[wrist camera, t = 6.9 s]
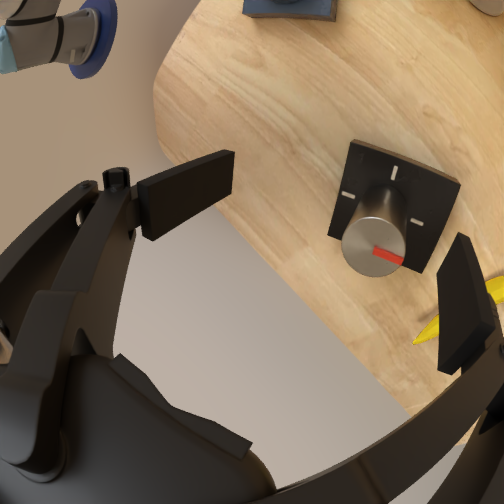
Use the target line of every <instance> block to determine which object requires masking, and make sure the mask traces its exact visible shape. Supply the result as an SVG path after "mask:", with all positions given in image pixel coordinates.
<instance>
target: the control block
mask: <svg viewBox="0 0 504 504" xmlns="http://www.w3.org/2000/svg"><path fill="white" fill-rule="evenodd" d="M336 9H337V0H244V4H243V12H242V14H244V15H246V16H249V17H251V18H300V19H313V20H323V21H331V22H335V18H336Z"/></svg>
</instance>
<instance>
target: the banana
mask: <svg viewBox="0 0 504 504" xmlns="http://www.w3.org/2000/svg"><path fill="white" fill-rule="evenodd" d="M485 284H486V288H487V291H488V293H490V294H491V296H492V298H493V299H494V301H495V303H496V305H497V304H499V303H501V302H504V276H499V277H496V278H493V279H491V280H488V281H486V282H485ZM438 335H439V314H438V315H437V316H435V317H434V318H433V319H432V321H431V322H430V323H429V324H428V325H427V326H426V327H425V328H424V329H423V331H422V332H421V333H420V334H419V335H418V336H417V338H416V339H415V340H414V341H413V343H412V344H413V345H415V344H418V343H422V342H425V341H427V340H430V339H432V338H434V337H436V336H438Z"/></svg>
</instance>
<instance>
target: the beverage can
mask: <svg viewBox="0 0 504 504" xmlns="http://www.w3.org/2000/svg"><path fill="white" fill-rule="evenodd" d="M470 1H471V2H472V3H473V5H475V6H476V7H477V8H478V9H480V10H481V11H482V12H484V13H486V14H489V15H493V16H498V15H500V14H502V13H503V12H504V0H470Z"/></svg>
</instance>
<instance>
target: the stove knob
mask: <svg viewBox="0 0 504 504" xmlns="http://www.w3.org/2000/svg"><path fill="white" fill-rule="evenodd" d="M406 220H407V207H406V202H405V200H404V198H403V196H402V195H401V193H400V192H399V191H398V190H396V189H395V188H393V187H391V186H388V185H375V186H372V187H371V188H369V189H368V190H367V191H366V192H365V193H364V194H363V196H362V198H361V200H360V202H359V204H358V206H357V208H356V210H355V212H354V214H353V216H352V218H351V220H350V222H349V224H348V226H347V228H346V230H345V232H344V234H343V237H342V243H341V246H342V252H343V255H344V258H345V260H346V261H347V263H348V264H349V265H350V266H351V267H352V268H353V269H354V270H355V271H357V272H358V273H360V274H362V275H365V276H369V277H383V276H386V275H389V274H391V273H392V272H394V271H395V270H396V269H397V268H398V267H399V266H401V264H402V262H403V260H404V256H405V249H406Z"/></svg>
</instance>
